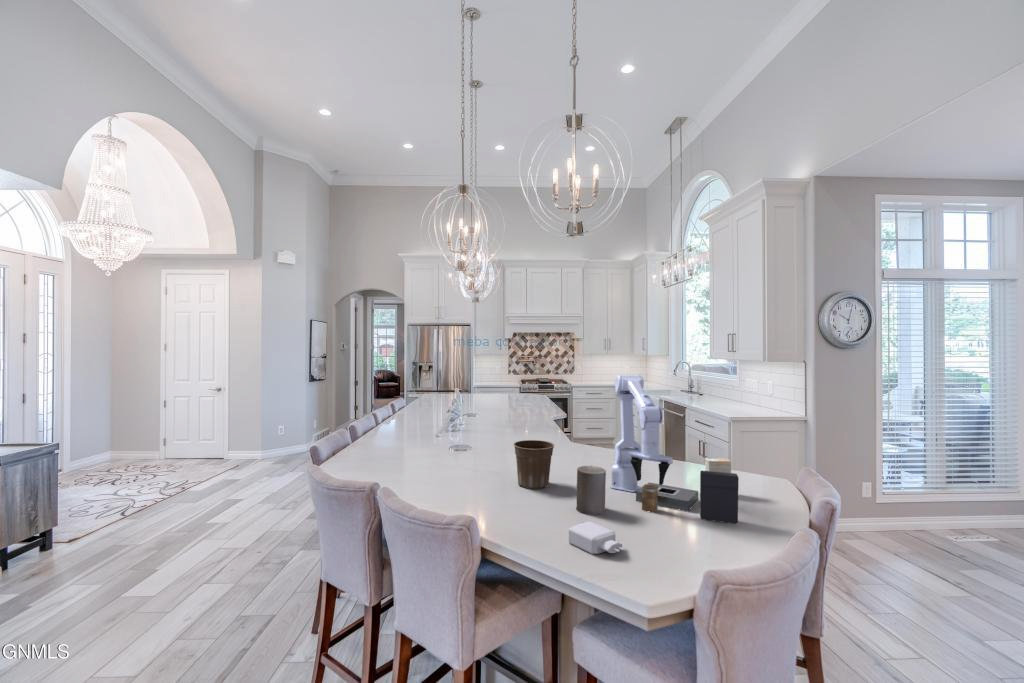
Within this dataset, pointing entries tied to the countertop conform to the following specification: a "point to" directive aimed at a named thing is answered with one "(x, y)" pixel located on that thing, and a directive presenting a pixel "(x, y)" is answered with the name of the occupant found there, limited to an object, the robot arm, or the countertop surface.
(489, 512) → the countertop surface
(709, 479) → the black rectangular box
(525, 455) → the plant pot
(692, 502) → the grey peg hole board
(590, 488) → the pillar candle
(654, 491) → the key peg
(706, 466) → the supplement box
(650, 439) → the robot arm
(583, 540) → the charger
